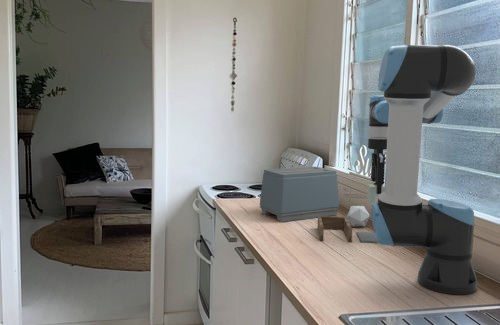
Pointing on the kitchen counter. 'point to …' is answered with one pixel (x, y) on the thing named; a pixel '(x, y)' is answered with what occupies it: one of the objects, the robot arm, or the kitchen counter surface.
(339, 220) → the brown u-shaped bracket
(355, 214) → the die
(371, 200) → the block
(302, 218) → the toaster
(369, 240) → the mat
